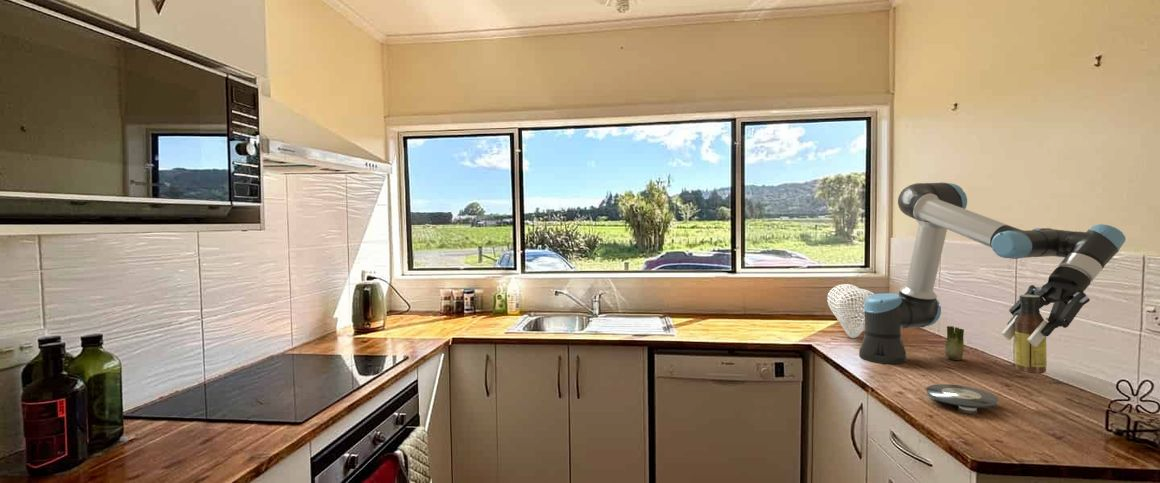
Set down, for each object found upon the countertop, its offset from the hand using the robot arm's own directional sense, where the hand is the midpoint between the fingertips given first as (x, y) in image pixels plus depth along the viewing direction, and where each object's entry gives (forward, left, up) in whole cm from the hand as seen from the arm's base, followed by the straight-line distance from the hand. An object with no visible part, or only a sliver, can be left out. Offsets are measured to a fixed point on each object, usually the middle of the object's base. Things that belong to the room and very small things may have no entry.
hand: (1018, 339), depth 134 cm
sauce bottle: (0, +4, -9) cm, 9 cm away
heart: (-85, +15, -20) cm, 89 cm away
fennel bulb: (-48, +28, -21) cm, 60 cm away
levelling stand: (-10, -7, -20) cm, 24 cm away
